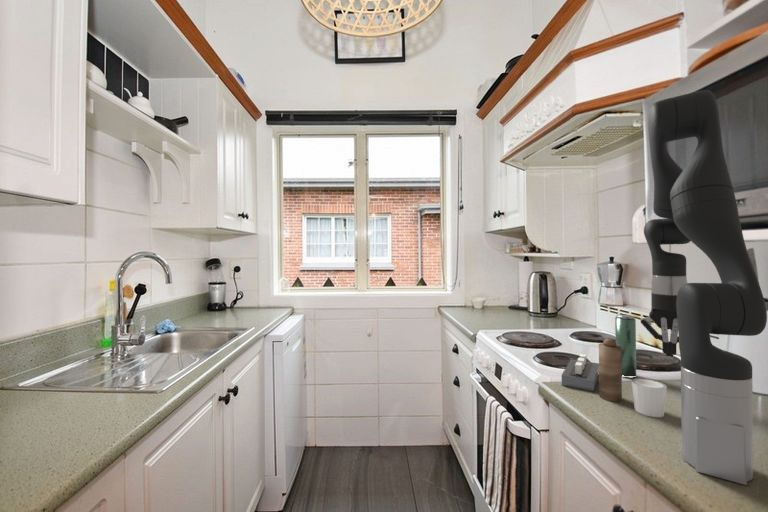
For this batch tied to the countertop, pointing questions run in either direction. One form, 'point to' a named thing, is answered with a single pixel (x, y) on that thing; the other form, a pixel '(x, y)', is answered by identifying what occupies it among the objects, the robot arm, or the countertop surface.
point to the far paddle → (584, 357)
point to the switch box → (581, 376)
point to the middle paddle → (581, 361)
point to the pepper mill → (610, 371)
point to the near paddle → (578, 368)
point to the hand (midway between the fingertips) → (669, 355)
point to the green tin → (626, 342)
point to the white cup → (649, 397)
